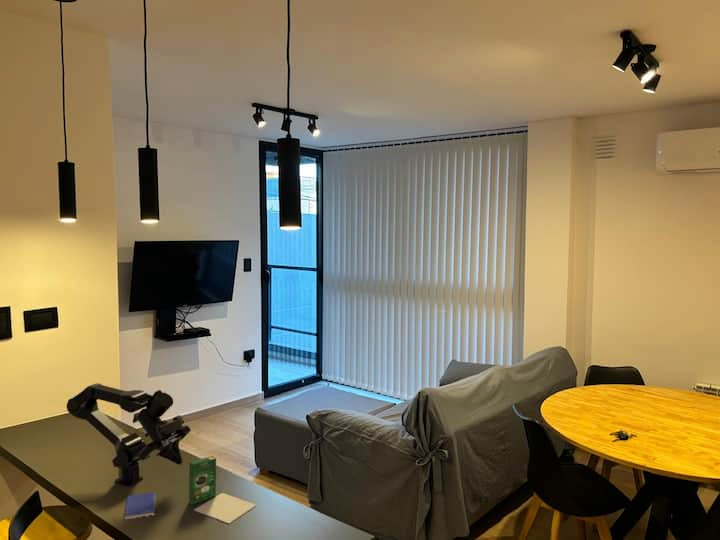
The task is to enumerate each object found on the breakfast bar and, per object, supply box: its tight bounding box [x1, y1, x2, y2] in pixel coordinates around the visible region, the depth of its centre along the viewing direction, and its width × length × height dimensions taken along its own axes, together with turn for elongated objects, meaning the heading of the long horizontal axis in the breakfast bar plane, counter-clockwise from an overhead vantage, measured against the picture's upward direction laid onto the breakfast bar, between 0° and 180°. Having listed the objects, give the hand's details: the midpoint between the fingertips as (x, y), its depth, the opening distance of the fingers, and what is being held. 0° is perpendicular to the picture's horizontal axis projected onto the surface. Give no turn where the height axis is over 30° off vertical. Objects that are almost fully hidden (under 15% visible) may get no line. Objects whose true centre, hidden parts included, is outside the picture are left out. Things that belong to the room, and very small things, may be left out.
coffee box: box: [188, 455, 217, 505], centre depth 173 cm, size 8×3×13 cm, turn 130°
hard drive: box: [124, 492, 156, 520], centre depth 169 cm, size 2×8×12 cm
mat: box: [193, 492, 257, 525], centre depth 169 cm, size 14×12×1 cm
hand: (181, 463), depth 176 cm, fingers closed
